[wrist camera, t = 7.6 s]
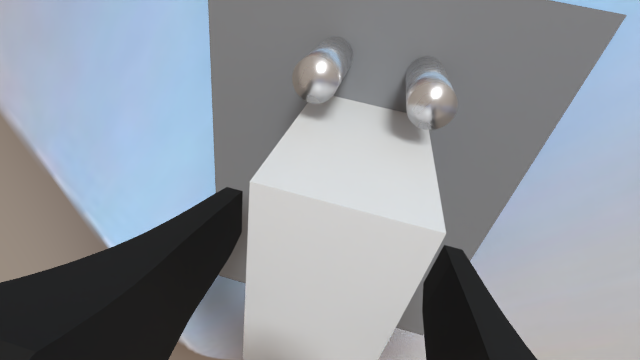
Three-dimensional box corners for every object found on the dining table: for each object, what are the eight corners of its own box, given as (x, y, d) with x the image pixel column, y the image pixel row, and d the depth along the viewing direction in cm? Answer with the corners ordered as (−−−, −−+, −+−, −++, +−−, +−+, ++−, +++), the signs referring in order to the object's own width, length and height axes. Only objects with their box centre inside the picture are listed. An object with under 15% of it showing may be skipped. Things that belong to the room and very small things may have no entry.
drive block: (427, 118, 11) (449, 234, 6) (370, 268, 16) (356, 404, 11) (314, 91, 11) (247, 180, 6) (291, 245, 16) (241, 367, 11)
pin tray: (603, 11, 9) (719, 31, 6) (421, 315, 18) (426, 394, 15) (223, -62, 10) (136, -80, 7) (228, 260, 20) (191, 321, 16)
